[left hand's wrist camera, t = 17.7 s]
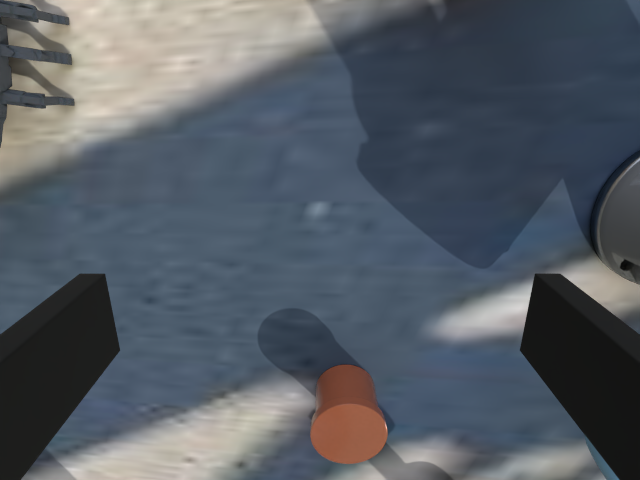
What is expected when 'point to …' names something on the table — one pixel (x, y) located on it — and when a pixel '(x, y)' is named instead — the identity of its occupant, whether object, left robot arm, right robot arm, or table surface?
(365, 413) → the terracotta cylinder
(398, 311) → the table surface
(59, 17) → the toy
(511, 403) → the table surface
